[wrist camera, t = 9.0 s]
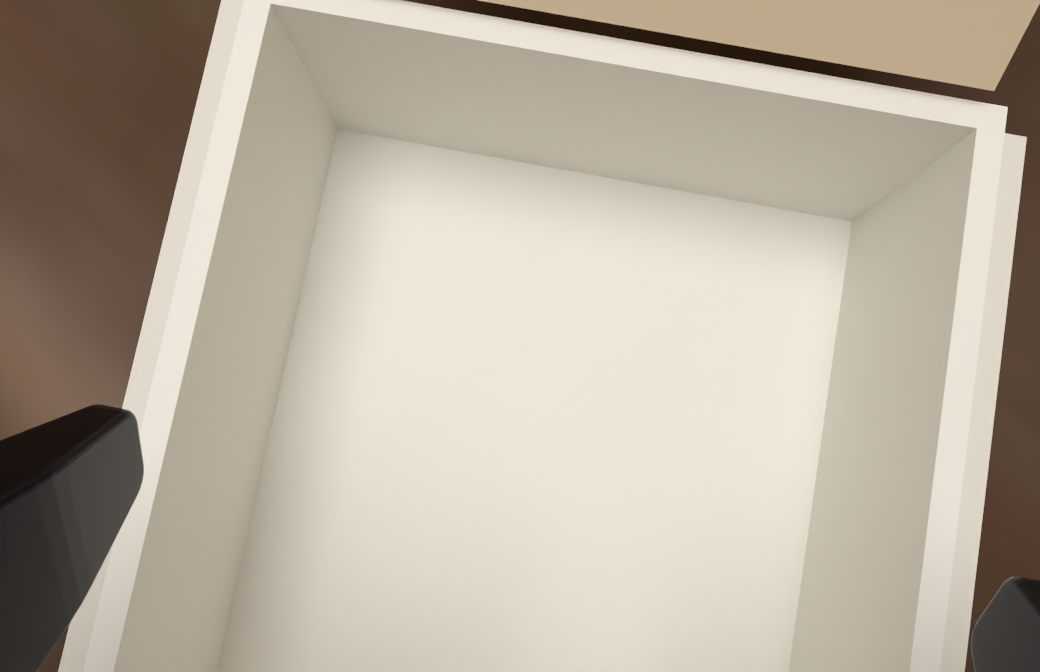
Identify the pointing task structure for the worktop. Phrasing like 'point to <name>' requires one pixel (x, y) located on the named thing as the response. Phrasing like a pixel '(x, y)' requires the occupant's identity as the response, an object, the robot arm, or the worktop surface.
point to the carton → (557, 360)
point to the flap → (837, 30)
